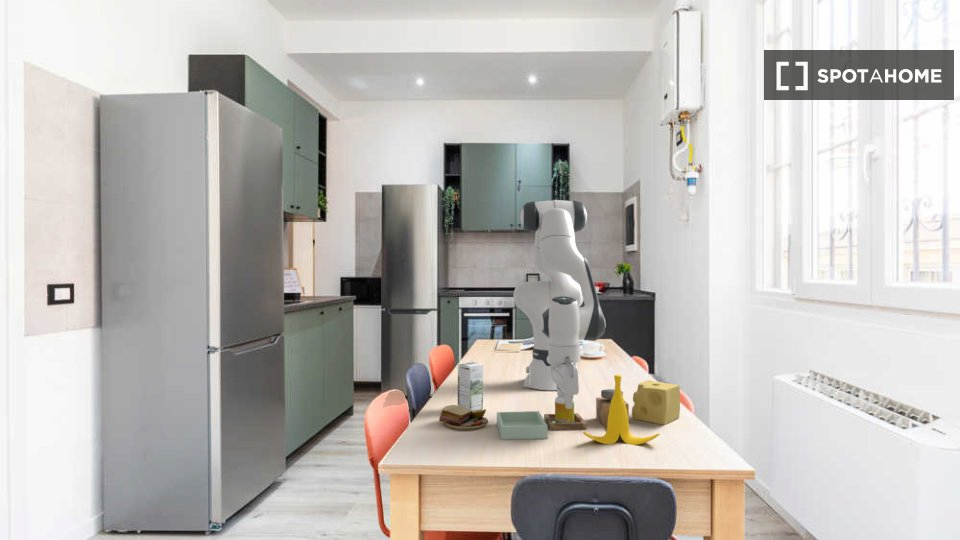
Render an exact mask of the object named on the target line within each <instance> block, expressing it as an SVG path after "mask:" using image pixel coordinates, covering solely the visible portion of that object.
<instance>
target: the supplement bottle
mask: <svg viewBox="0 0 960 540" xmlns="http://www.w3.org/2000/svg"><path fill="white" fill-rule="evenodd" d="M556 391H557V392H556V393H557V394H556V395H557V396H556V397H555V398H554V414H555V420H554V423H575V420H574V414H575V399H574V398H573V401H572V408H571V409H566V408H565V393H564V392H563V391H562V390H561V389H558V390H556Z"/></svg>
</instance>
